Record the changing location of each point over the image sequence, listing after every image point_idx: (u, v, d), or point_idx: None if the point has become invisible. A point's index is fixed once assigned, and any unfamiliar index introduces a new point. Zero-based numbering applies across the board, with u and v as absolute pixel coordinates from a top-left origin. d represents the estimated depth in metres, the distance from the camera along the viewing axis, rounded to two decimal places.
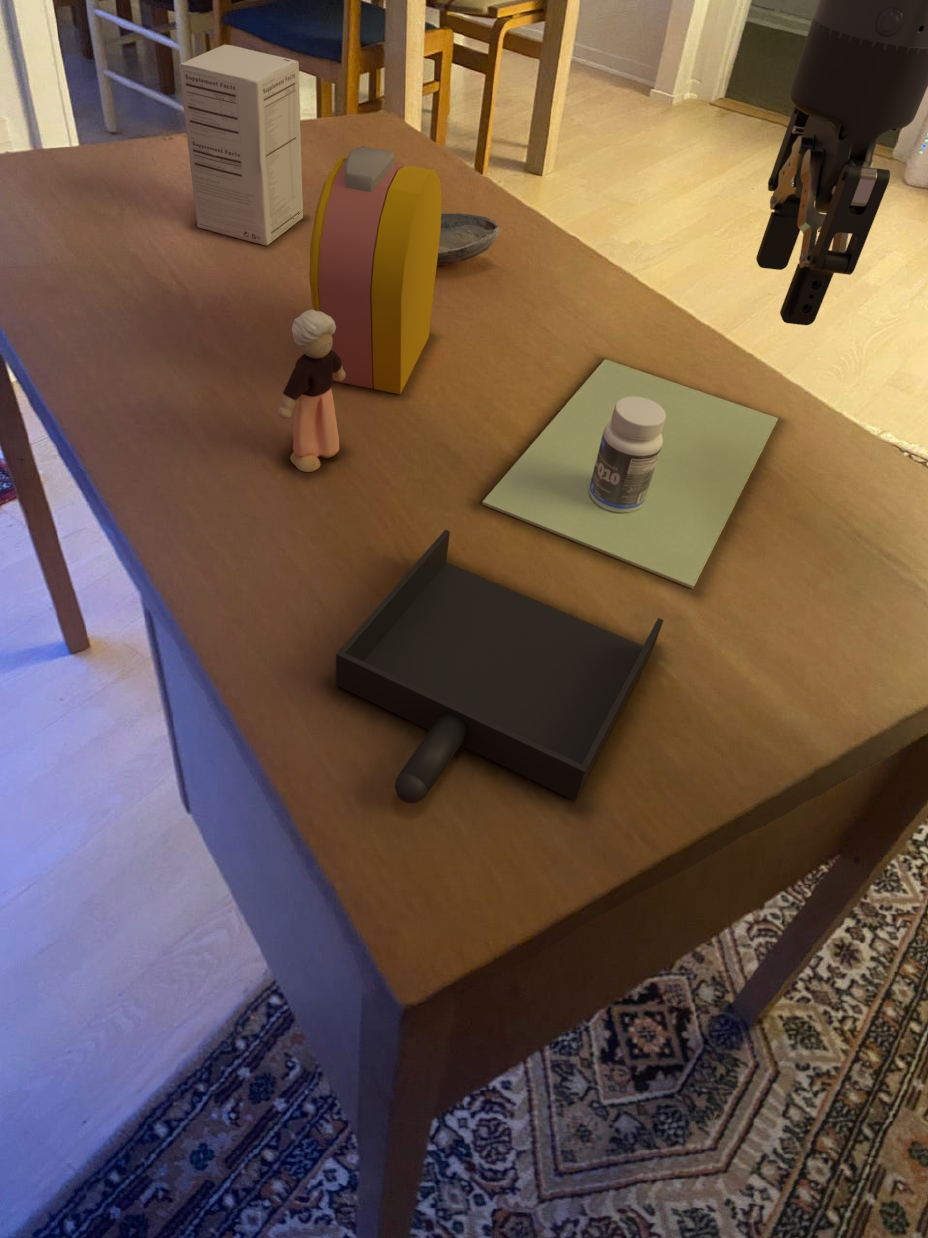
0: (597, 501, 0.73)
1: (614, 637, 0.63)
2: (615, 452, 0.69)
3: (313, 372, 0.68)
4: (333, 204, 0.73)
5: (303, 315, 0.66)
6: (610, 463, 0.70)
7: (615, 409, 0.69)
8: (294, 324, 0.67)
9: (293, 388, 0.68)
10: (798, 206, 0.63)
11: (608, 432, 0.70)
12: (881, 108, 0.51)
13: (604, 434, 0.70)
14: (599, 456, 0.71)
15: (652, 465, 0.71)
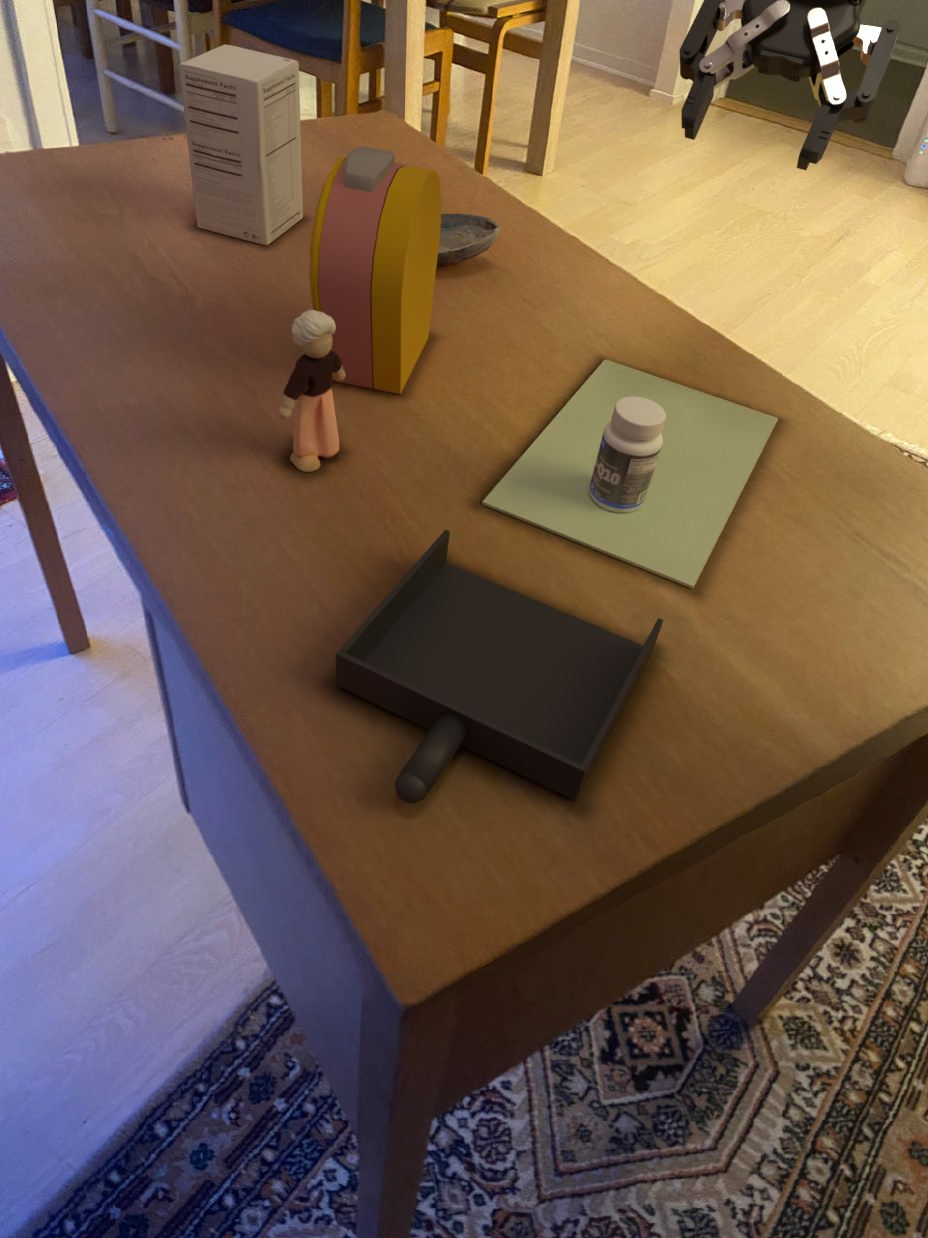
0: (597, 501, 0.73)
1: (614, 637, 0.63)
2: (615, 452, 0.69)
3: (313, 372, 0.68)
4: (332, 204, 0.73)
5: (303, 315, 0.66)
6: (610, 463, 0.70)
7: (615, 409, 0.69)
8: (294, 324, 0.67)
9: (293, 388, 0.68)
10: (826, 100, 0.63)
11: (608, 433, 0.70)
12: None
13: (604, 434, 0.70)
14: (599, 456, 0.71)
15: (652, 465, 0.71)
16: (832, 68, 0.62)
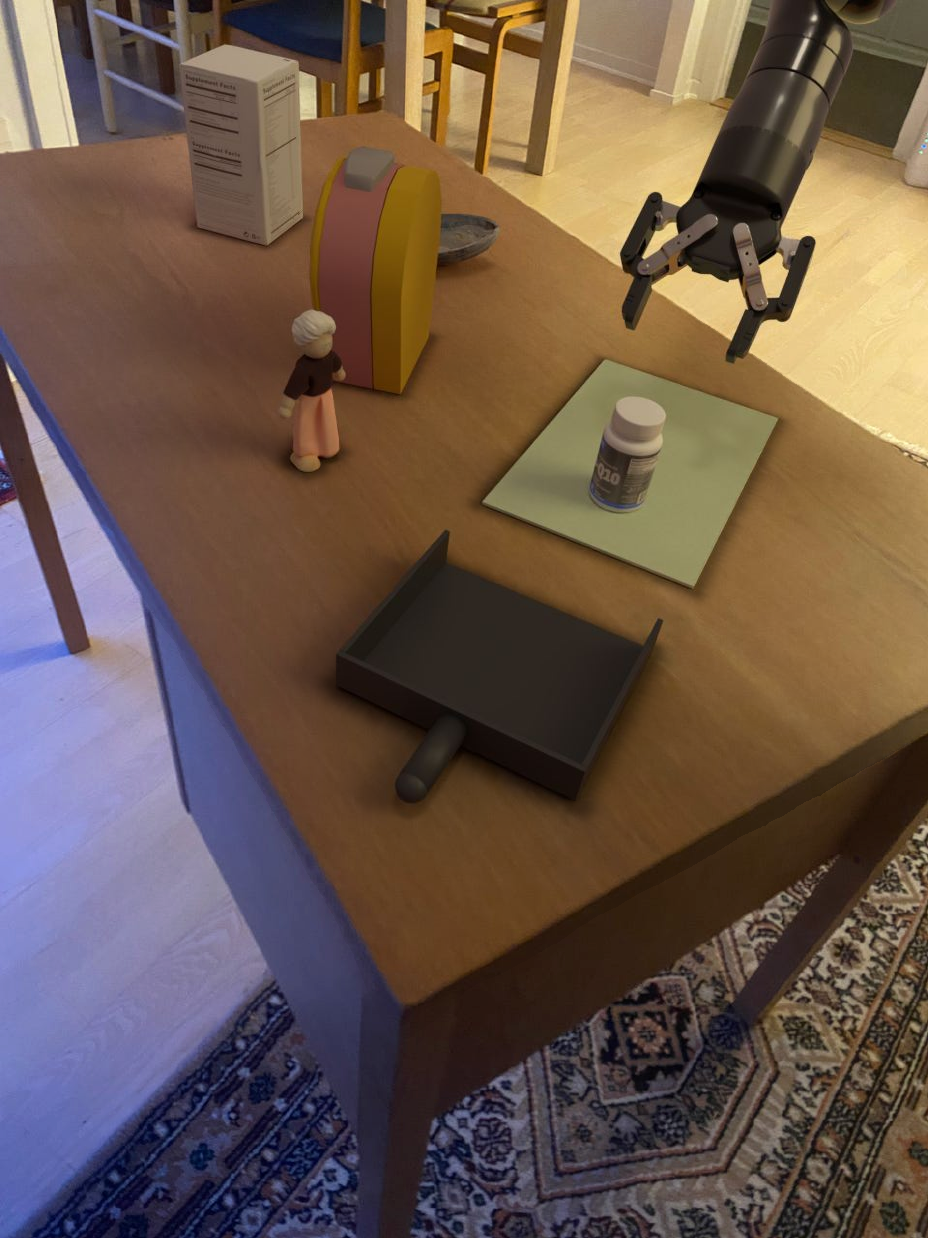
0: (597, 501, 0.73)
1: (614, 637, 0.63)
2: (615, 452, 0.69)
3: (313, 372, 0.68)
4: (332, 204, 0.73)
5: (303, 315, 0.66)
6: (610, 463, 0.70)
7: (615, 409, 0.69)
8: (294, 324, 0.67)
9: (293, 388, 0.68)
10: (750, 303, 0.70)
11: (608, 433, 0.70)
12: None
13: (604, 434, 0.70)
14: (599, 456, 0.71)
15: (652, 465, 0.71)
16: (755, 278, 0.69)
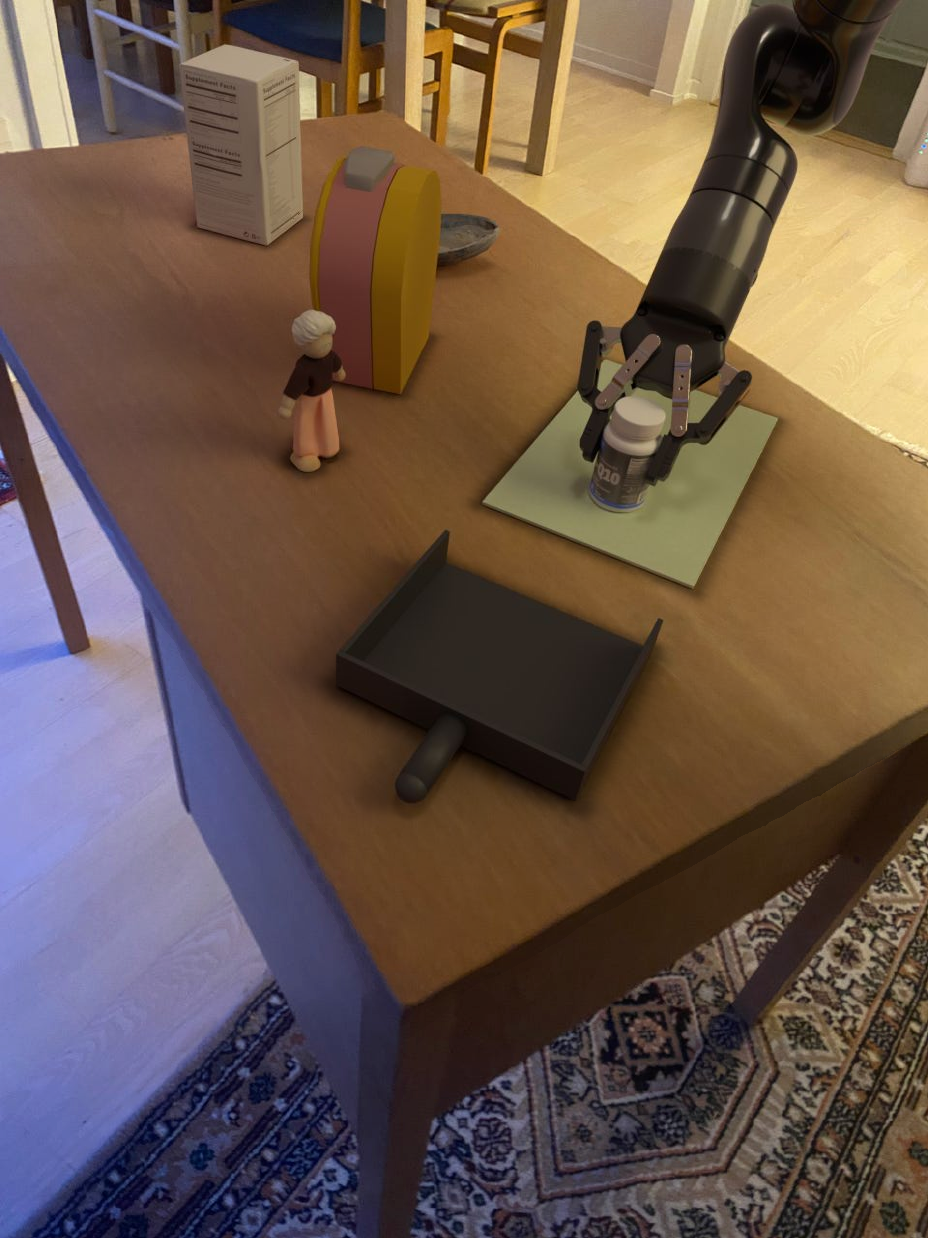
0: (597, 501, 0.73)
1: (614, 637, 0.63)
2: (615, 452, 0.69)
3: (313, 372, 0.68)
4: (332, 204, 0.73)
5: (303, 315, 0.66)
6: (610, 463, 0.70)
7: (615, 409, 0.69)
8: (294, 324, 0.67)
9: (293, 388, 0.68)
10: None
11: (608, 432, 0.70)
12: None
13: (604, 434, 0.70)
14: (599, 456, 0.71)
15: None
16: (681, 403, 0.68)
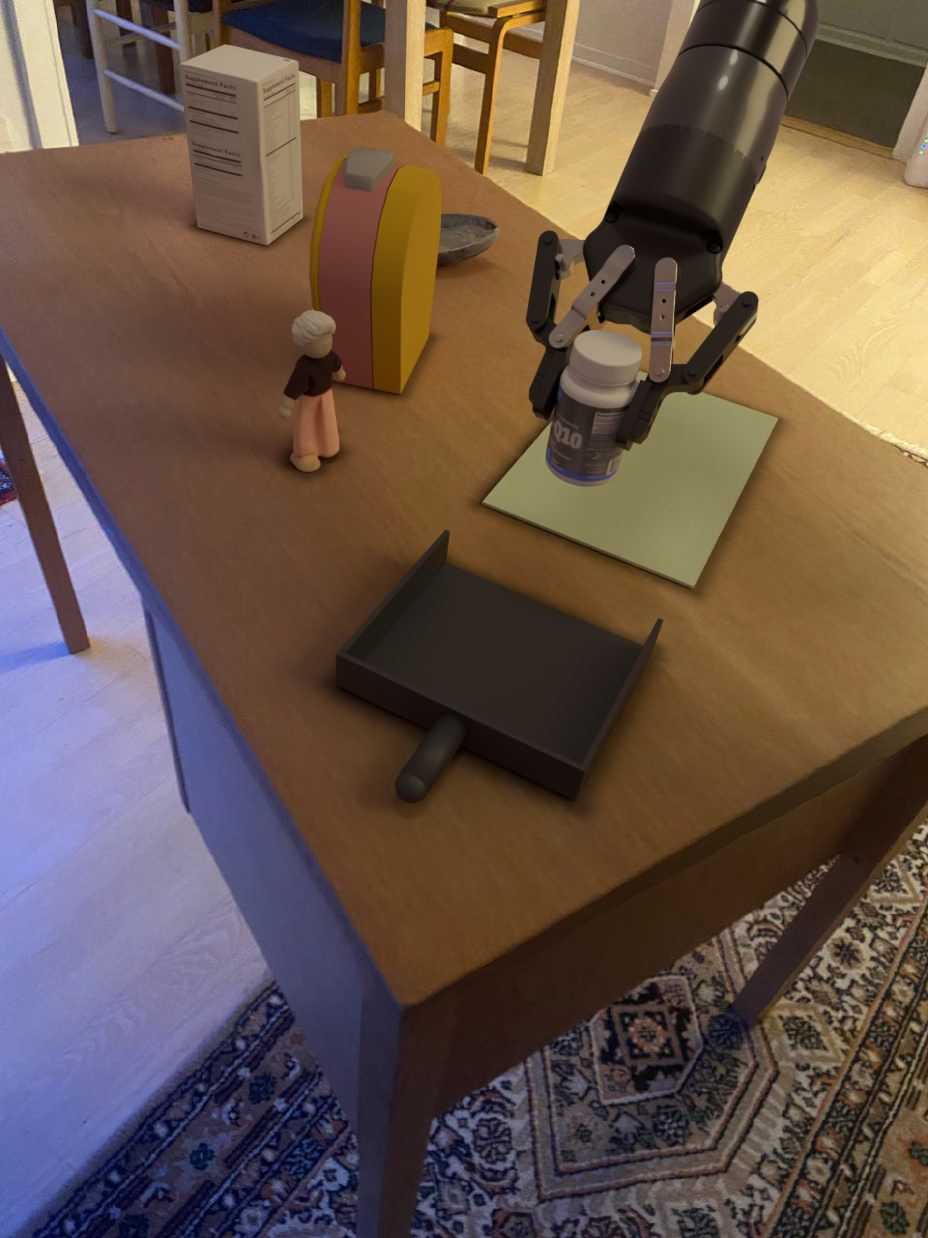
0: (554, 472, 0.56)
1: (614, 637, 0.63)
2: (575, 404, 0.52)
3: (313, 372, 0.68)
4: (332, 204, 0.73)
5: (303, 315, 0.66)
6: (569, 419, 0.53)
7: (574, 345, 0.51)
8: (294, 324, 0.67)
9: (293, 388, 0.68)
10: (649, 371, 0.52)
11: (566, 378, 0.52)
12: None
13: (561, 381, 0.53)
14: (555, 411, 0.54)
15: None
16: (663, 337, 0.51)
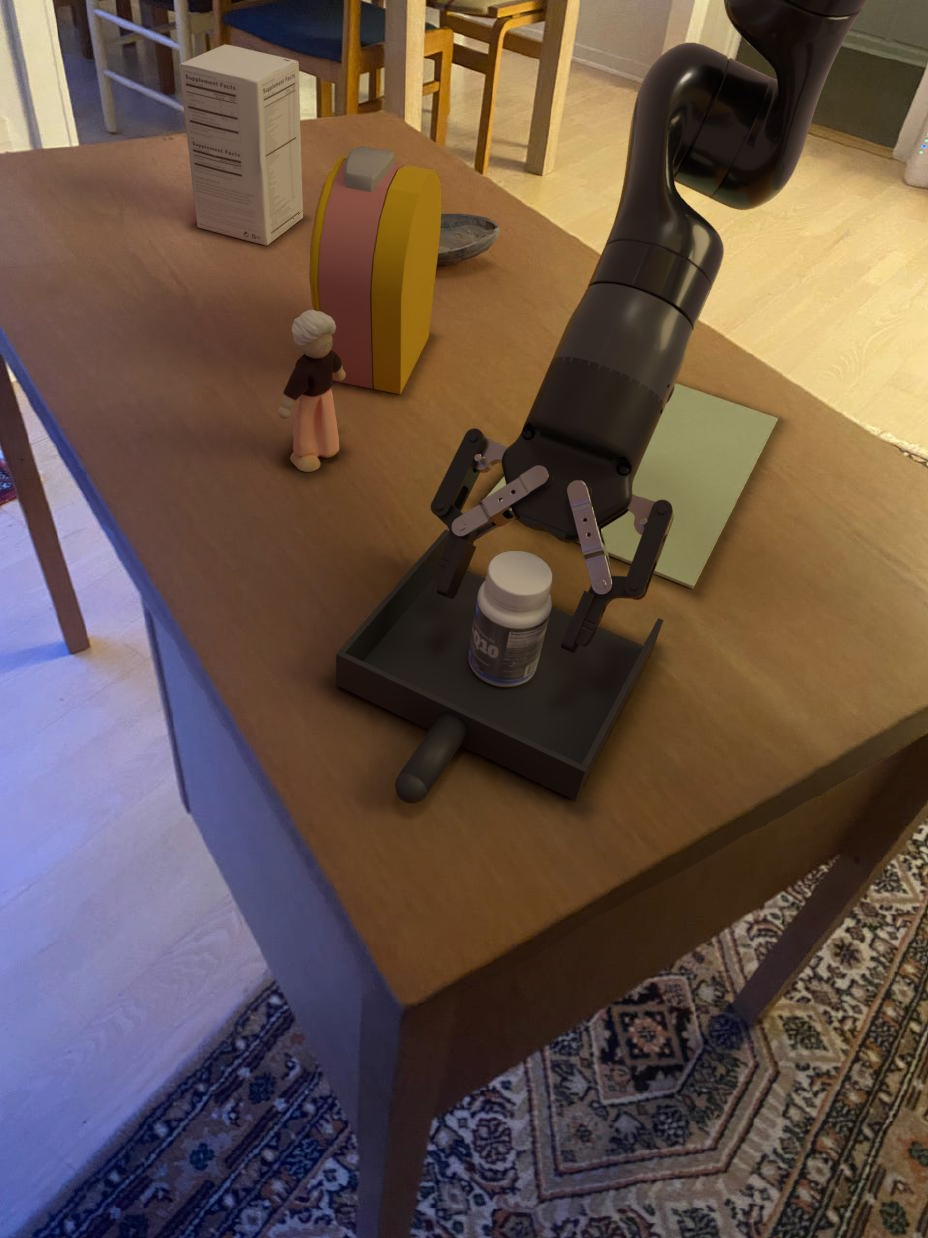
0: (476, 672, 0.59)
1: (614, 637, 0.63)
2: (490, 623, 0.55)
3: (313, 372, 0.68)
4: (332, 204, 0.73)
5: (303, 315, 0.66)
6: (486, 634, 0.56)
7: (488, 571, 0.54)
8: (294, 324, 0.67)
9: (293, 388, 0.68)
10: None
11: (482, 597, 0.55)
12: None
13: (478, 598, 0.56)
14: (474, 622, 0.57)
15: (539, 636, 0.56)
16: (595, 552, 0.53)
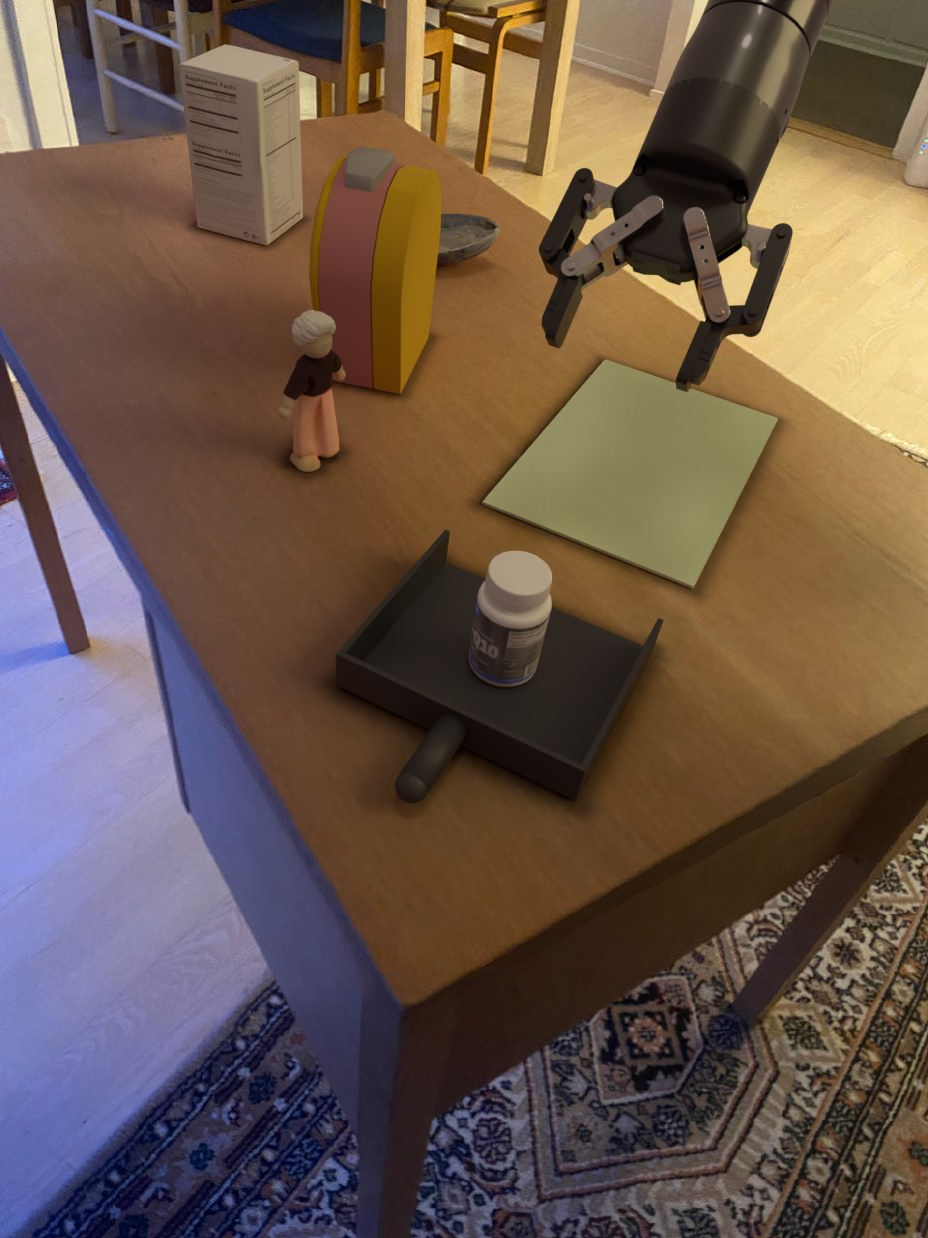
0: (476, 672, 0.59)
1: (614, 637, 0.63)
2: (490, 623, 0.55)
3: (313, 372, 0.68)
4: (332, 204, 0.73)
5: (303, 315, 0.66)
6: (486, 634, 0.56)
7: (488, 571, 0.54)
8: (294, 324, 0.67)
9: (293, 388, 0.68)
10: (708, 313, 0.53)
11: (482, 597, 0.55)
12: None
13: (478, 598, 0.56)
14: (474, 622, 0.57)
15: (539, 636, 0.56)
16: (713, 279, 0.52)
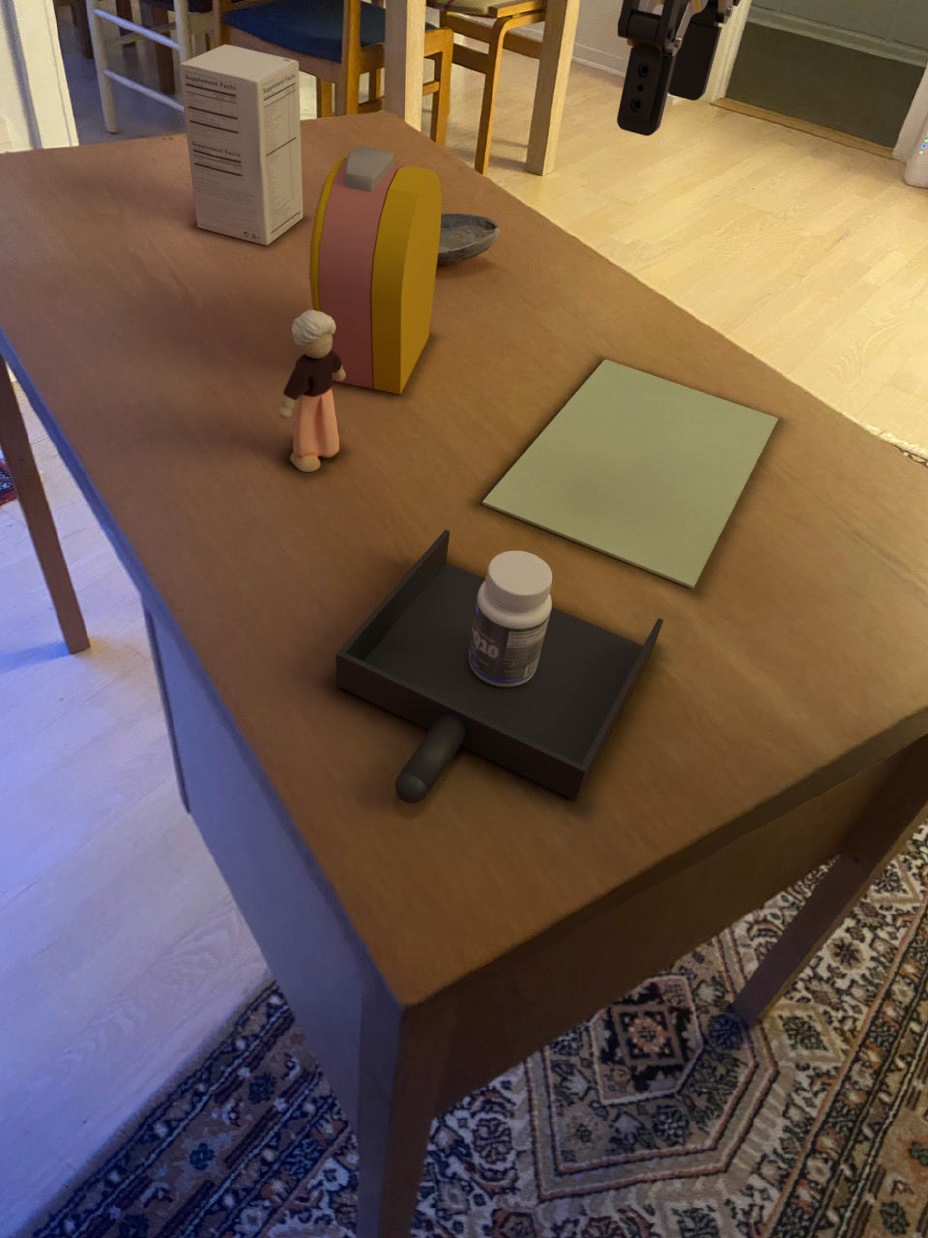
0: (476, 672, 0.59)
1: (614, 637, 0.63)
2: (490, 623, 0.55)
3: (313, 372, 0.68)
4: (332, 204, 0.73)
5: (303, 315, 0.66)
6: (486, 634, 0.56)
7: (488, 571, 0.54)
8: (294, 324, 0.67)
9: (293, 388, 0.68)
10: (712, 10, 0.50)
11: (482, 597, 0.55)
12: None
13: (478, 598, 0.56)
14: (474, 622, 0.57)
15: (539, 636, 0.56)
16: None
